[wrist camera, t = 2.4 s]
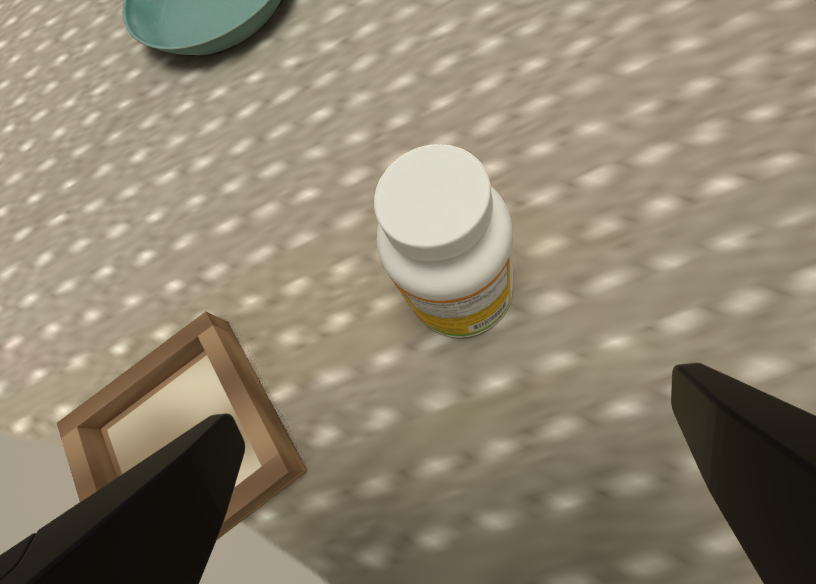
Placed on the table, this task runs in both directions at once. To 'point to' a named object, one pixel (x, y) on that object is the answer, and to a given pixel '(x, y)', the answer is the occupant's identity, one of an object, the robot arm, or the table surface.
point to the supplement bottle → (446, 239)
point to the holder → (182, 416)
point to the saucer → (195, 23)
